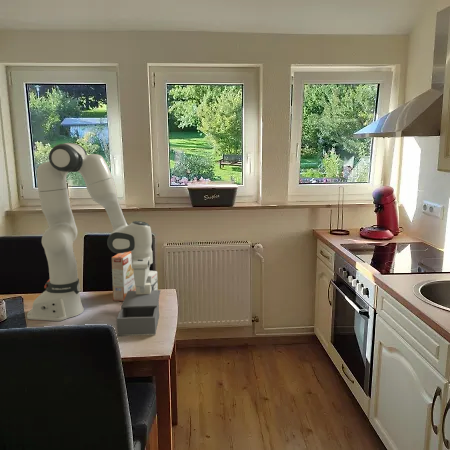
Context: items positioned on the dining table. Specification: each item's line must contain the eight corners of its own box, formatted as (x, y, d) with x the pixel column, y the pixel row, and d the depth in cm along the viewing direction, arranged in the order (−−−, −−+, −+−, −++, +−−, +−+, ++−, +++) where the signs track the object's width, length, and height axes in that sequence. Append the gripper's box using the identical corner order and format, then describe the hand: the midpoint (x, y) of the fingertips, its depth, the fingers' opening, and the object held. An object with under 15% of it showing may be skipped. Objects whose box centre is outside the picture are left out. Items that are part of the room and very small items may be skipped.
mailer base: (117, 336, 155) (116, 318, 154) (125, 316, 173) (124, 301, 171) (155, 334, 156) (154, 317, 155) (159, 315, 174) (158, 300, 172)
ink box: (151, 300, 191) (151, 276, 189) (141, 299, 192) (140, 275, 190) (158, 294, 199) (157, 270, 197) (148, 293, 200) (147, 270, 198)
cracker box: (125, 301, 190) (123, 257, 186) (112, 300, 191) (110, 257, 187) (136, 291, 203) (135, 250, 199) (125, 290, 204) (123, 249, 200)
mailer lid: (121, 308, 163) (120, 296, 162) (128, 292, 181) (127, 282, 180) (156, 306, 164) (156, 295, 163) (160, 291, 182) (160, 281, 181)
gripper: (137, 253, 185) (139, 282, 188) (130, 266, 165) (132, 298, 168) (152, 252, 186) (153, 282, 188) (146, 265, 166) (148, 298, 168)
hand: (143, 290), depth 178 cm, fingers closed on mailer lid, 3 cm apart
